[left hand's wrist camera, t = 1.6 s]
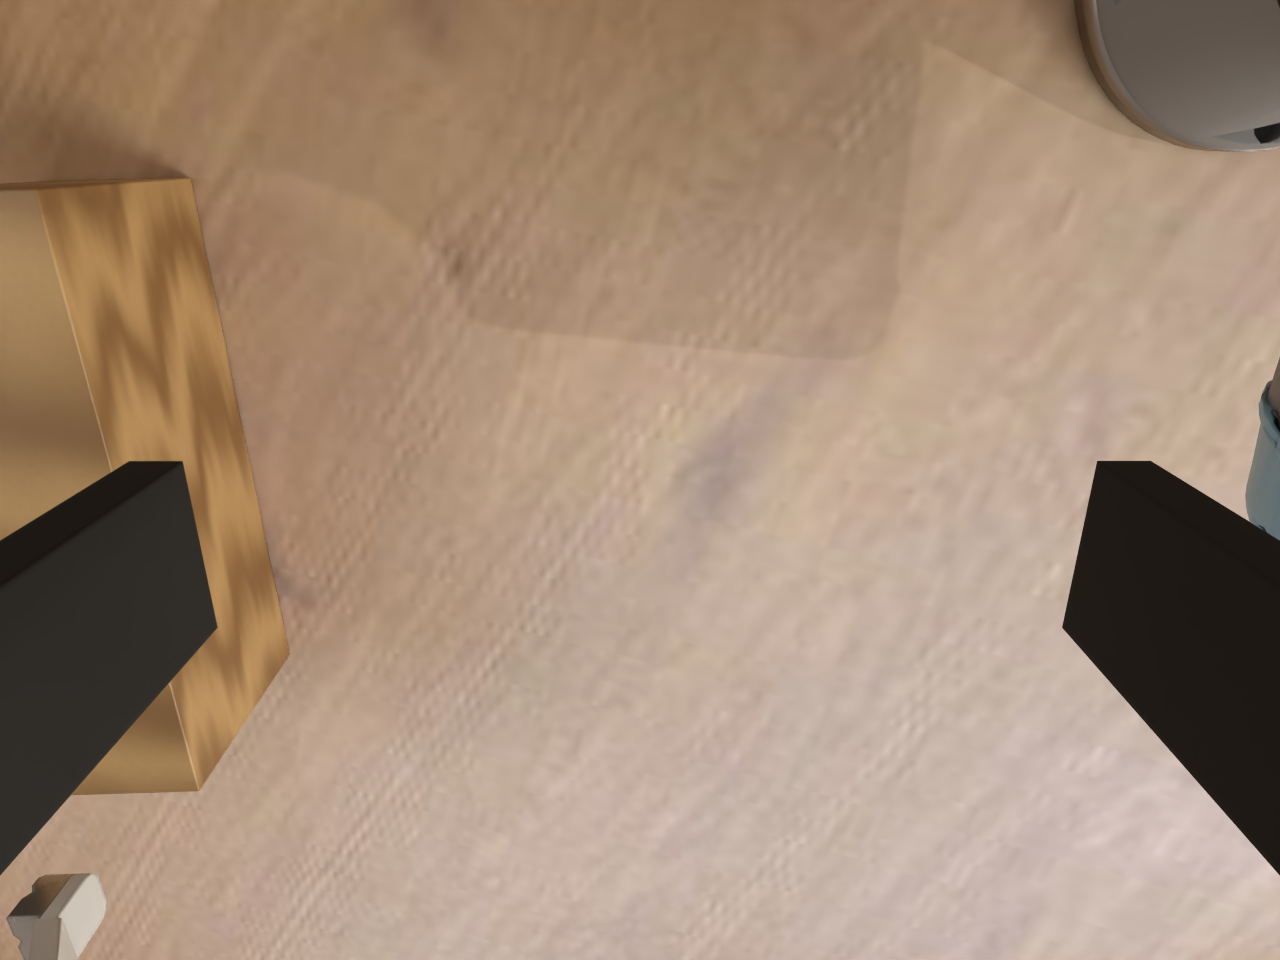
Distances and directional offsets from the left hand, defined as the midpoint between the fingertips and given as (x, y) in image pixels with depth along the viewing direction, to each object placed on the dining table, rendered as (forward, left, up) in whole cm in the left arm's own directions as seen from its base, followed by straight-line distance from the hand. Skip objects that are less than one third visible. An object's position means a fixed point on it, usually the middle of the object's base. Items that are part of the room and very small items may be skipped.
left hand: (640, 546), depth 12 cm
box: (+21, -10, -28) cm, 36 cm away
